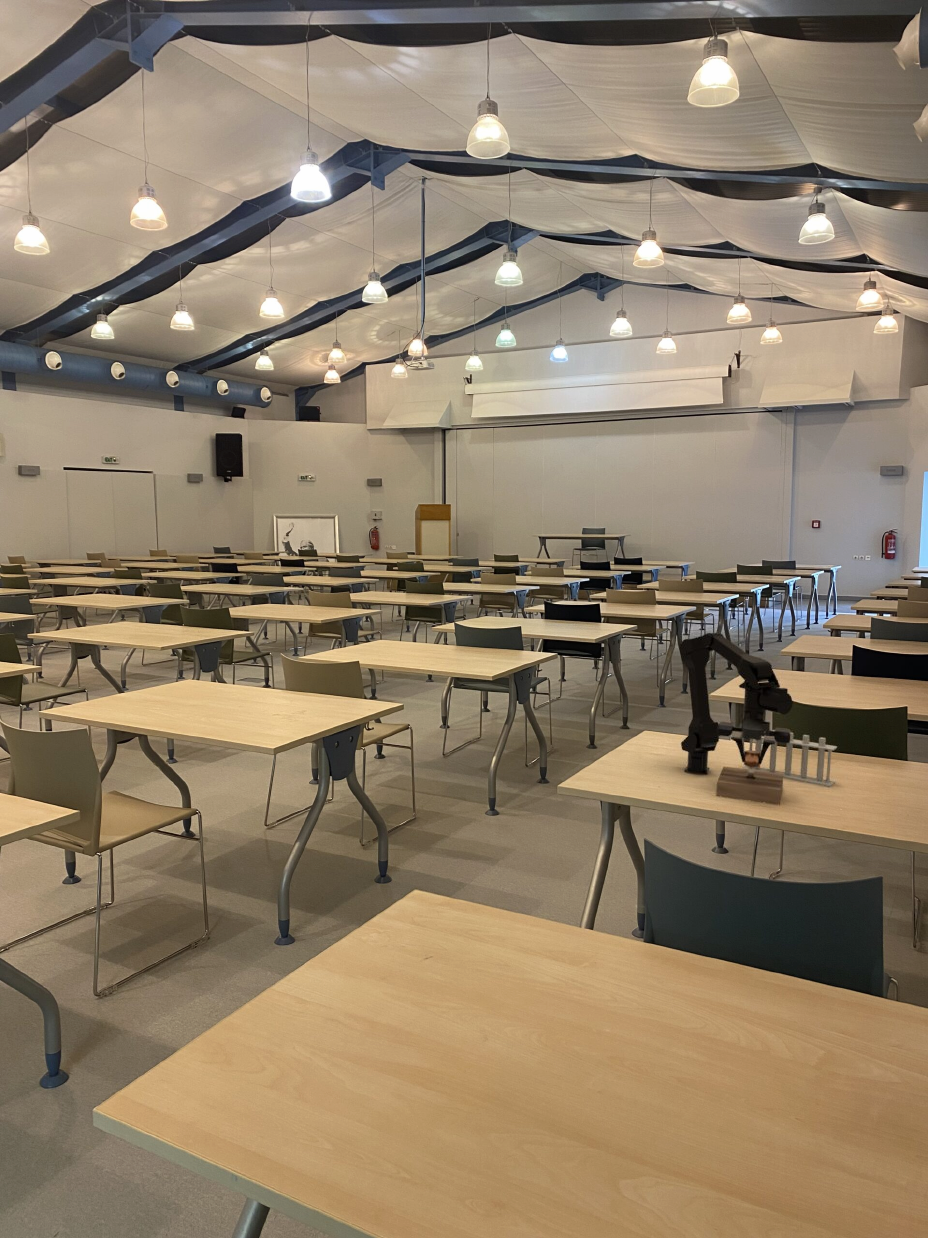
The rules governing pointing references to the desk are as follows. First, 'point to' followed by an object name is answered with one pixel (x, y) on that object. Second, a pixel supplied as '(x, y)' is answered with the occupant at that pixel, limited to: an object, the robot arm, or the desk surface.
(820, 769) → the test tube rack
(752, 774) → the plunger
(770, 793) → the press housing
